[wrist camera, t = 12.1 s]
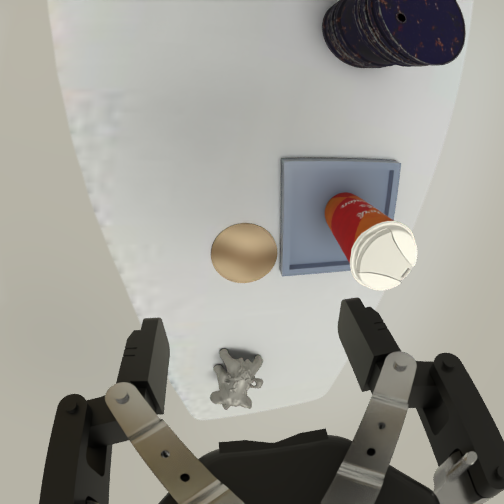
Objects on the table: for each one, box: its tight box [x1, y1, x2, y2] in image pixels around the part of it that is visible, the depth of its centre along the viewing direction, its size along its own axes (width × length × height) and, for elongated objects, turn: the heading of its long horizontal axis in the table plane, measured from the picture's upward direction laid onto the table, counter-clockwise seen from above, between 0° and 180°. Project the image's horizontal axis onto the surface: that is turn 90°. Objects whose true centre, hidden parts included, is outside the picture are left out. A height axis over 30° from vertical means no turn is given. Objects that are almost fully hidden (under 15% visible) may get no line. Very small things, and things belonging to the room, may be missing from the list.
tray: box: [280, 158, 401, 276], centre depth 42 cm, size 16×16×2 cm
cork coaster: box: [211, 223, 277, 283], centre depth 44 cm, size 9×9×1 cm
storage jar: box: [322, 0, 465, 68], centre depth 24 cm, size 10×10×15 cm
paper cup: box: [325, 192, 417, 290], centre depth 36 cm, size 8×8×14 cm
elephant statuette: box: [210, 349, 263, 410], centre depth 52 cm, size 9×12×8 cm
